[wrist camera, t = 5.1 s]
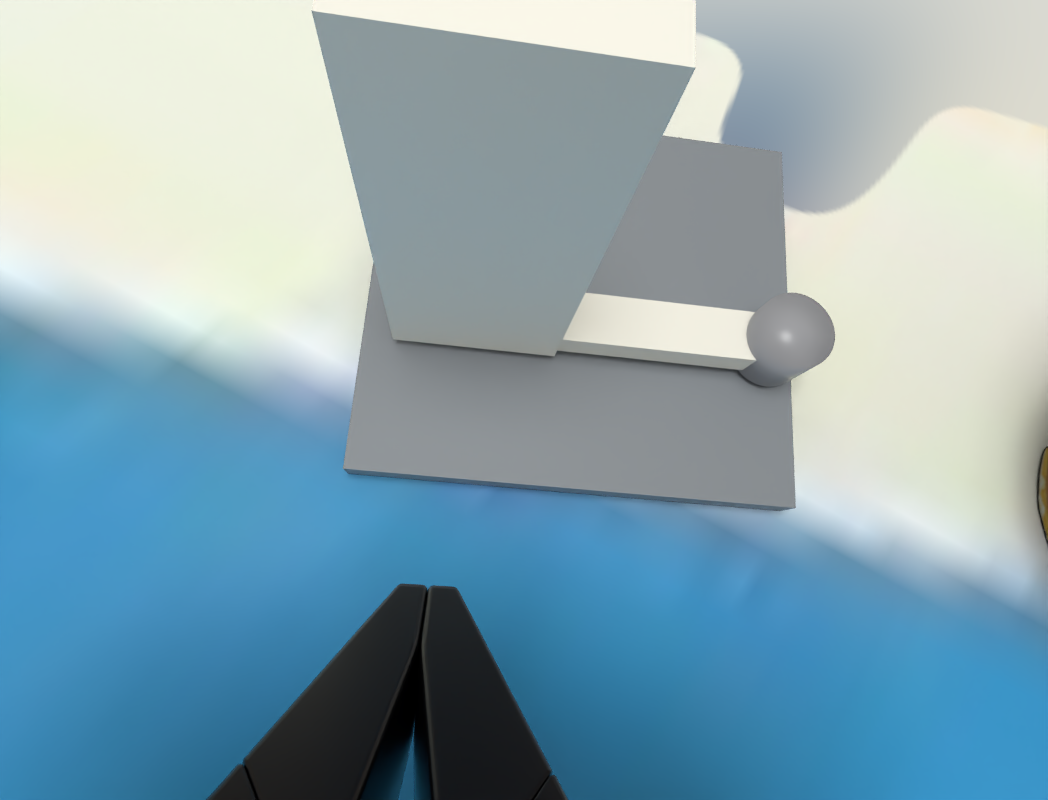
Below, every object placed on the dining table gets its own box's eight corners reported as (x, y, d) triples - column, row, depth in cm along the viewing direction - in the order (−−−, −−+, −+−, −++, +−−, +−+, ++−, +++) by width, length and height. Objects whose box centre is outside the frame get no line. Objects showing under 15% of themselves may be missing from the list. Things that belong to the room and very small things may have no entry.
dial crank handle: (801, 390, 21) (1248, 161, 9) (392, 347, 20) (309, 23, 8) (798, 321, 22) (1213, 25, 10) (402, 276, 20) (337, -121, 9)
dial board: (779, 510, 21) (797, 507, 20) (348, 473, 20) (342, 467, 19) (768, 168, 25) (783, 150, 24) (399, 118, 23) (397, 96, 22)
